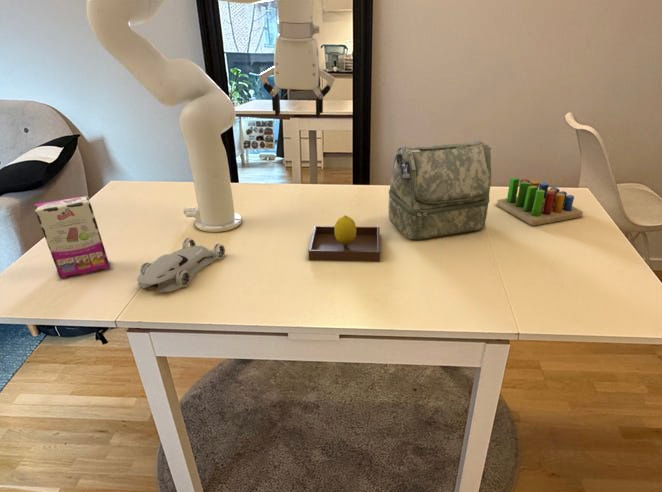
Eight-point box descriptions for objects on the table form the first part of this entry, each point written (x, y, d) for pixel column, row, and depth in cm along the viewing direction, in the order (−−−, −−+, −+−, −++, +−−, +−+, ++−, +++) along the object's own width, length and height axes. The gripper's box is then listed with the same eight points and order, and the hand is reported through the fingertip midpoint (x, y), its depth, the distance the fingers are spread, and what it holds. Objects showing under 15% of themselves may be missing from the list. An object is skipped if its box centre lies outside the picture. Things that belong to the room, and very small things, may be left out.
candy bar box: (108, 261, 132) (88, 194, 122) (111, 269, 128) (91, 201, 119) (57, 270, 128) (33, 202, 118) (59, 279, 124) (34, 210, 114)
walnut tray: (309, 260, 133) (308, 250, 131) (314, 234, 145) (314, 225, 143) (379, 261, 132) (379, 252, 131) (379, 235, 144) (379, 226, 143)
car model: (229, 254, 135) (226, 235, 132) (167, 300, 117) (163, 280, 114) (191, 247, 138) (188, 228, 135) (126, 291, 120) (120, 270, 117)
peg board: (582, 217, 155) (590, 187, 150) (532, 226, 149) (539, 196, 144) (543, 197, 168) (549, 169, 162) (495, 205, 162) (500, 176, 157)
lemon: (359, 242, 139) (359, 212, 135) (352, 251, 135) (352, 221, 130) (339, 239, 141) (338, 210, 136) (331, 248, 137) (330, 218, 132)
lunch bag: (404, 245, 139) (409, 158, 126) (379, 219, 153) (381, 138, 140) (493, 232, 146) (507, 148, 133) (462, 208, 160) (472, 130, 147)
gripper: (336, 31, 121) (335, 113, 132) (259, 28, 122) (264, 110, 132) (333, 35, 115) (333, 120, 126) (252, 31, 116) (258, 117, 126)
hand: (297, 115), depth 129 cm, fingers open, 9 cm apart
